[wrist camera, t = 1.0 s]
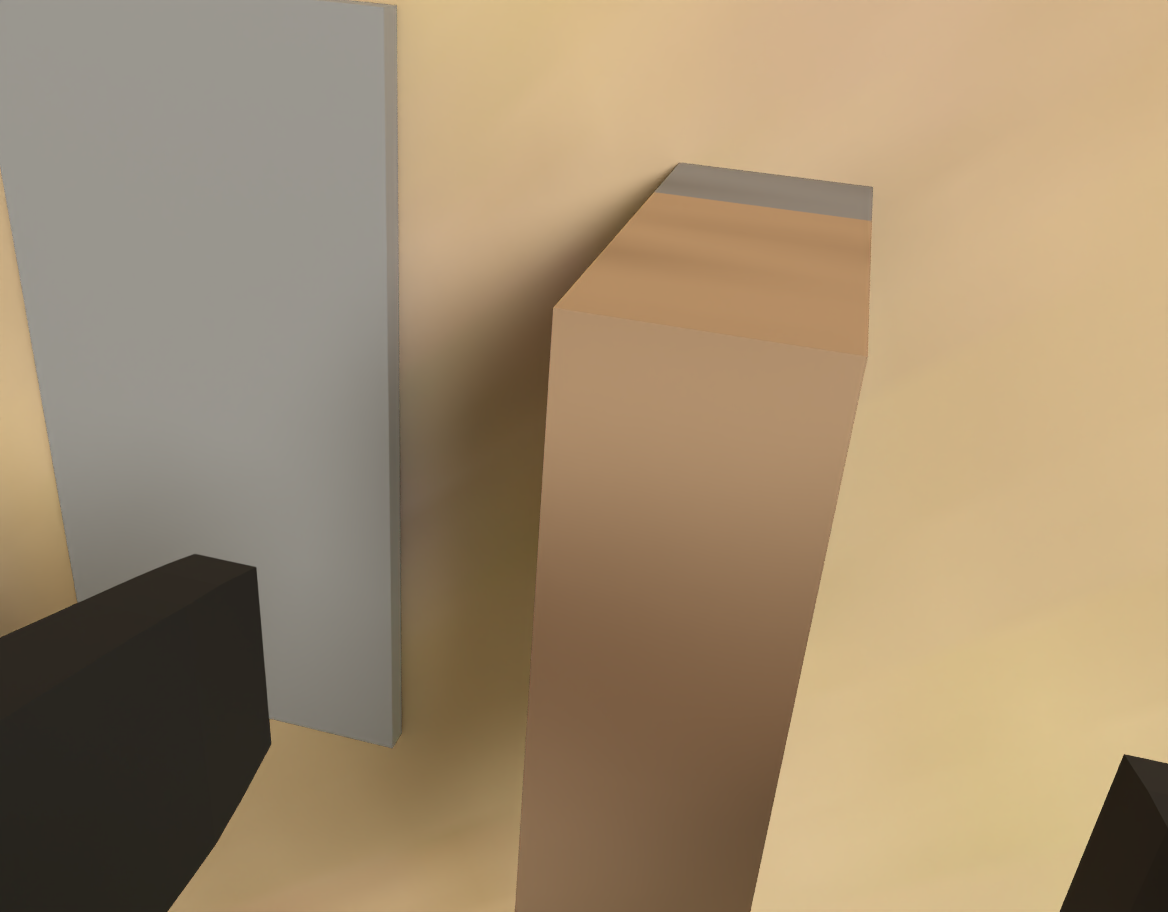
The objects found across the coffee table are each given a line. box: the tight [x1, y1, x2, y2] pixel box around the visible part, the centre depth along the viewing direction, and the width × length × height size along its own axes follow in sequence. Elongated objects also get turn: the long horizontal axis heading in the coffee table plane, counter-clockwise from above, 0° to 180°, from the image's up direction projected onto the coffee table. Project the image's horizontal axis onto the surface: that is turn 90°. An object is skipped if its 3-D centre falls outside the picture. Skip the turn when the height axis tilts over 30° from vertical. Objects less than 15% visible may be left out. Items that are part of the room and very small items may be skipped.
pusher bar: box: [515, 163, 873, 912], centre depth 12 cm, size 7×2×6 cm, turn 176°
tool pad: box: [0, 0, 402, 748], centre depth 16 cm, size 12×6×1 cm, turn 176°
